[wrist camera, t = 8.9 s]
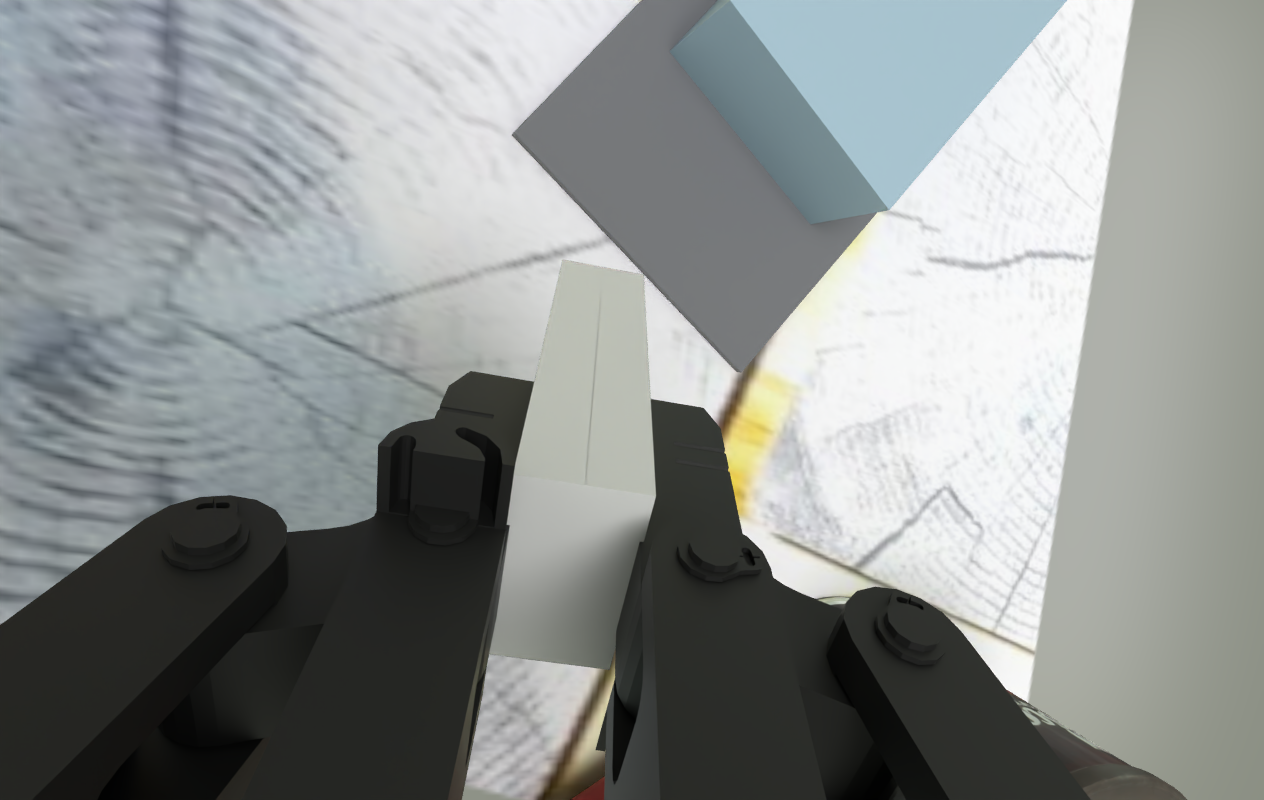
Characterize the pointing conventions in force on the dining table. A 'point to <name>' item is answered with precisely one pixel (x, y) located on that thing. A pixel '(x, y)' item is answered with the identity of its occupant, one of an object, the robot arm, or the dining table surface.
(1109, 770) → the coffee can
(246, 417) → the dining table surface
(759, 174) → the mat
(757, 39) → the block
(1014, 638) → the dining table surface
